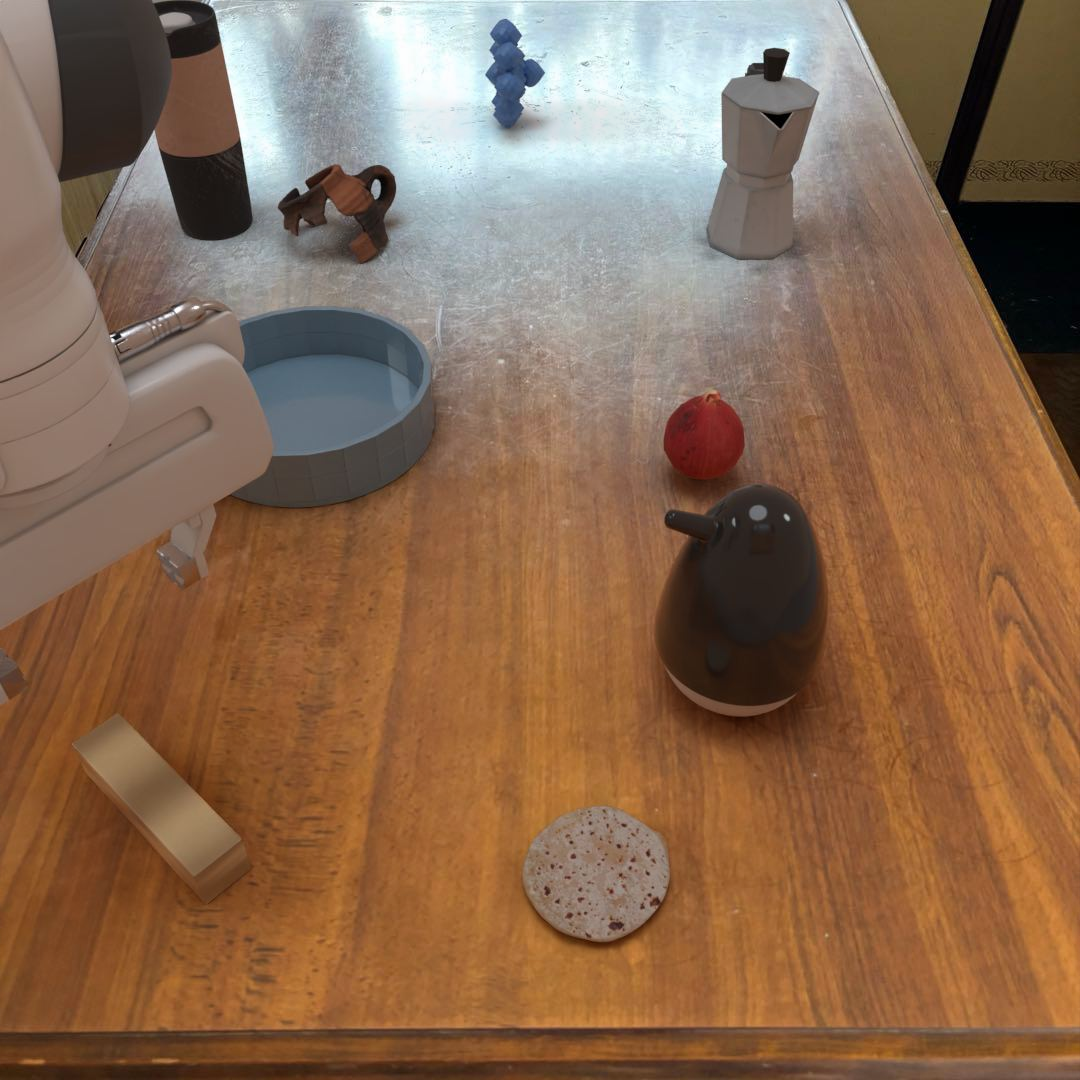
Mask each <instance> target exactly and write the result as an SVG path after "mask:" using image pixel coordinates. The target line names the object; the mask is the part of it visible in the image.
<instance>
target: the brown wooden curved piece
mask: <svg viewBox="0 0 1080 1080" xmlns="http://www.w3.org/2000/svg"><path fill="white" fill-rule="evenodd" d="M376 180H377V181H378V182H379V185H380V192H379V195H378V197H377V198H375V196H374V194H373V193H372V188H373V185H374V182H375V181H376ZM304 183H305V185H306V187H307V188H308V190H307V191H306V192H303V193H302V194H300V193H301V192H300V191H299V189H298V188H297V187H294V188H292V189H291V190H290V191H289V192H288V193H286V195H285V196H284V197H282V199H281V200H280V201H279V203H278V205H277V207H276V208H277V209H278V211H280V212H281V214H282V215H283V230H286V231H290V232H291V233H292V234H293V235H294V236H295V237H299V236H300V233H299V231H300V229H299V225H300V221H301V220H303V221H304V222H305V223H307V224H308V225H310V226H312V227H315V226H321V225H325V224H327V223H328V219H327V217H326V215H325V213H326V204H327V201H328V199H329V200H330V201H331V202H332V204H333V205H334V206H335V208H336V210H337V211H338V212H339V213H341V214H342V215H343V216H344V217H347V218H348V217H353V218H354V220H355V221H356V222H358V225H360V227H361V230H362V232H361V233H360V234H359V236H357V237H356V238H355V239H354V240H352V241H351V242H350V243H349V248H350V250H351V251H352V253H354V255H355V257H356V259H357V261H358V263H359V264H363V263H365V262H366V261H368V260H369V259H370V258H372V257H374V256H375V255H376V254H377V253H378V252H379V251H381V250H382V248H383V247H385V246H386V244H387V243H388V242H389V236H388V235H389V234H388V232H387V227H386V223H385V217H386V214H387V213H388V211H389V209H390V208H391V207H392V204H393V203H394V200H395V198H396V194H397V182H396V176H395V175H394V174H393V173H392V172H391V170H390V169H389V168H388V167H386V166H385V165H382V164H375V165H371V166H369V167H366V168H365V169H363V170H362V171H360V172H359V173H357V174H353V175H350V174H349V173H345V171H344V170H343V168H342V166H341V165H340V164H339V163H337V164H336V163H335V164H332V165H329V166H327V167H325V168H324V169H321V170H320V171H318V172H316V173H314V174H313V175H312V176H310V177H308V178H307V179H305V181H304Z"/></svg>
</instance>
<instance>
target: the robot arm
mask: <svg viewBox="0 0 1080 1080" xmlns="http://www.w3.org/2000/svg"><path fill="white" fill-rule="evenodd" d="M153 3H154V2H153V0H0V631H1V630H4V629H5V628H7V627H9V626H10V625H12V624H14V623H15V622H17V621H19V620H20V619H21V618H23V617H26V616H27V615H29V614H30V613H32V612H34V611H35V610H37V609H39V608H40V607H42V606H44V605H45V604H48V603H49V602H51V601H53V600H54V599H56V598H58V597H59V596H60V595H62V594H64V593H66V592H68V591H69V590H71V589H72V588H75V587H77V585H79V584H81V583H83V582H84V581H86V580H88V579H90V578H91V577H93V576H95V575H96V574H97V573H99V572H101V571H103V570H105V569H106V568H108V567H110V566H111V565H113V564H115V563H116V562H118V561H120V560H122V559H123V558H125V557H127V556H128V555H130V554H132V553H134V552H135V551H137V550H138V549H140V548H142V547H144V546H145V545H147V544H148V543H150V542H152V541H153V540H155V539H157V538H159V537H160V536H162V535H164V534H165V533H167V532H169V531H170V530H171V532H170V533H171V534H170V538H169V539H170V540H169V542H167V543H165V544H163V545H161V547H159V548H157V549H156V553H157V556H158V560H159V561H160V562H161V563H162V565H161V568H162V571H163V573H164V574H165V576H166V577H167V578H168V580H169V581H170V582H172V583H175V584H176V585H177V588H179V590H181V591H185V590H186V589H188V588H190V587H192V586H193V585H195V584H196V583H198V582H199V581H201V580H202V579H205V578H206V577H208V576H209V575H210V570H209V567H208V563H207V560H206V556H205V554H204V552H205V551H206V549H207V546H208V543H209V541H210V538H211V534H212V532H213V528H214V526H215V521H216V520H217V512H216V509H215V508H216V507H215V505H214V504H216V503H218V502H219V501H221V500H223V499H224V498H226V497H228V496H230V494H231V493H233V492H234V491H236V490H238V489H240V488H241V487H243V486H245V485H246V484H248V483H250V482H251V481H253V480H255V479H256V478H258V477H260V476H261V475H262V474H264V473H265V471H266V469H267V467H268V465H269V462H270V460H271V457H272V454H273V451H274V444H273V439H272V436H271V432H270V429H269V426H268V423H267V420H266V417H265V414H264V412H263V409H262V406H261V404H260V401H259V399H258V397H257V394H256V392H255V390H254V387H253V385H252V383H251V381H250V379H249V377H248V375H247V374H246V372H245V370H244V368H243V367H242V365H243V362H244V356H245V349H244V344H243V339H242V335H241V331H240V326H239V323H238V322H239V321H238V319H237V316H236V315H235V313H234V312H233V310H232V309H231V308H230V307H228V306H227V305H226V304H225V303H222V302H219V301H217V300H203V301H202V300H201V299H199V298H198V297H197V296H196V297H195V296H192V297H187V298H184V299H180V300H178V301H176V302H174V303H172V304H170V305H169V306H167V307H166V309H165V310H163V311H161V312H158V313H157V314H154V315H151V316H149V317H146V318H142V319H139V320H136V321H134V322H132V323H129V324H127V325H124V326H122V327H120V328H118V329H115V330H114V331H112V332H109V329H108V325H107V322H106V319H105V316H104V314H103V311H102V307H101V305H100V301H99V299H98V298H97V297H98V296H97V291H96V290H95V286H94V284H93V281H92V280H91V278H90V276H89V274H88V272H87V271H86V270H85V268H84V267H83V265H82V264H81V262H80V261H79V260H78V259H77V257H76V256H75V254H74V252H73V251H72V249H71V247H70V245H69V243H68V241H67V238H66V235H65V232H64V226H63V220H62V219H63V218H62V206H63V205H62V203H63V202H62V201H63V200H62V199H63V198H62V189H61V188H62V187H61V184H60V183H63V182H67V181H72V180H75V179H80V178H84V177H88V176H93V175H96V174H100V173H105V172H109V171H114V170H118V169H123V168H127V167H130V166H132V165H134V163H136V161H137V159H138V158H139V157H140V156H141V154H142V152H143V151H144V149H145V148H146V147H147V144H148V143H149V141H150V140H151V137H152V135H153V134H154V132H155V131H154V129H155V127H156V125H157V123H158V121H159V119H160V116H161V113H162V111H163V108H164V105H165V102H166V99H167V95H168V91H169V87H170V82H171V77H172V63H171V55H170V50H169V45H168V41H167V38H166V34H165V31H164V28H163V25H162V23H161V20H160V17H159V15H158V13H157V10H156V8H155V6H154V4H153ZM28 689H30V685H29V683H28V681H27V680H26V679H25V678H24V674H23V672H22V670H21V668H20V666H19V664H17V662H15V661H14V660H13V658H12V657H9V656H8V654H7V652H6V650H4V649H3V648H2V647H1V646H0V707H2V706H3V705H5V704H7V703H8V702H9V701H12V699H14V698H16V697H18V696H19V695H20V694H22V693H23V692H25V691H27V690H28Z"/></svg>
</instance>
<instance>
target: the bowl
mask: <svg viewBox="0 0 1080 1080" xmlns="http://www.w3.org/2000/svg"><path fill="white" fill-rule="evenodd" d="M238 323H239V326H240V331H241V335H242V339H243V344H244V349H245V356H244V362H243V365H242V367H243V368H244V370H245V372H246V374H247V375H248V377H249V379H250V381H251V383H252V385H253V387H254V390H255V392H256V394H257V397H258V399H259V401H260V404H261V406H262V409H263V412H264V414H265V417H266V420H267V423H268V426H269V429H270V432H271V436H272V439H273V444H274V451H273V454H272V457H271V460H270V462H269V465H268V467H267V469H266V471H265V473H264V474H262V475H261V476H260V477H258V478H256V479H255V480H253V481H251V482H250V483H248V484H246V485H245V486H243V487H241V488H240V489H238V490H236V491H234V492H233V493H231V494H229V496H232V497H234V498H237V499H240V500H243V501H245V502H249V503H253V504H258V505H261V506H267V507H268V506H269V507H277V508H293V509H294V508H299V509H300V508H315V507H316V508H317V507H323V506H329V505H334V504H339V503H342V502H343V503H344V502H347V501H351V500H354V499H357V498H360V497H364V496H366V495H368V494H371V493H372V492H375V491H378V490H380V489H382V488H383V487H386V486H387V485H389V484H391V483H393V482H394V481H396V480H398V478H400V477H401V476H403V475H404V474H405V473H407V472H408V471H410V469H411V468H412V467H414V465H416V463H417V462H418V461H419V460H420V458H422V456H423V455H424V453H425V452H426V450H427V449H428V447H429V445H430V443H431V440H432V438H433V435H434V431H435V427H436V426H435V425H436V416H435V415H436V401H435V389H434V378H433V366H432V361H431V358H430V356H429V354H428V351H427V349H426V346H425V344H424V343H423V342H422V341H421V340H420V339H419V338H418V337H417V336H416V335H415V334H414V332H412V330H410V329H409V328H407V327H406V326H404V325H402V324H400V323H399V322H397V321H396V320H393V319H392V318H390V317H387V316H384V315H381V314H378V313H375V312H372V311H368V310H366V309H361V308H353V307H347V306H340V305H339V306H337V305H305V306H304V305H303V306H297V307H290V308H284V309H278V310H273V311H268V312H264V313H261V314H258V315H255V316H251V317H249V318H246V319H243V320H241V321H238Z"/></svg>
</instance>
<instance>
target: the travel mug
mask: <svg viewBox="0 0 1080 1080" xmlns="http://www.w3.org/2000/svg"><path fill="white" fill-rule="evenodd" d="M153 4H154V6H155V8H156V10H157V13H158V15H159V17H160V20H161V23H162V25H163V28H164V31H165V34H166V38H167V41H168V45H169V50H170V55H171V63H172V77H171V82H170V87H169V91H168V95H167V99H166V102H165V105H164V108H163V111H162V113H161V116H160V119H159V121H158V123H157V125H156V127H155V129H154V131H153V132H154V135H155V138H156V143H157V146H158V150H159V154H160V158H161V162H162V165H163V168H164V172H165V176H166V180H167V183H168V186H169V190H170V193H171V197H172V200H173V204H174V207H175V211H176V215H177V218H178V221H179V225H180V227H181V229H182V232H183V233H184V234H185V235H187V236H189V237H190V238H194V239H197V240H203V241H216V240H225V239H229V238H232V237H236V236H238V235H240V234H242V233H244V232H245V231H247V230H248V229H249V228H250V227H251V225H252V224H253V219H254V217H253V208H252V200H251V196H250V188H249V184H248V183H249V182H248V177H247V170H246V163H245V157H244V151H243V144H242V140H241V134H240V133H241V132H240V128H239V124H238V123H239V122H238V118H237V113H236V108H235V104H234V99H233V93H232V88H231V83H230V79H229V74H228V68H227V64H226V59H225V54H224V53H225V52H224V48H223V44H222V39H221V34H220V30H219V24H218V19H217V14H216V11H215V9H214V8H213V6H212V5H210V4H207V3H206V2H202V1H197V0H163V1H157V2H153Z"/></svg>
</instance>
